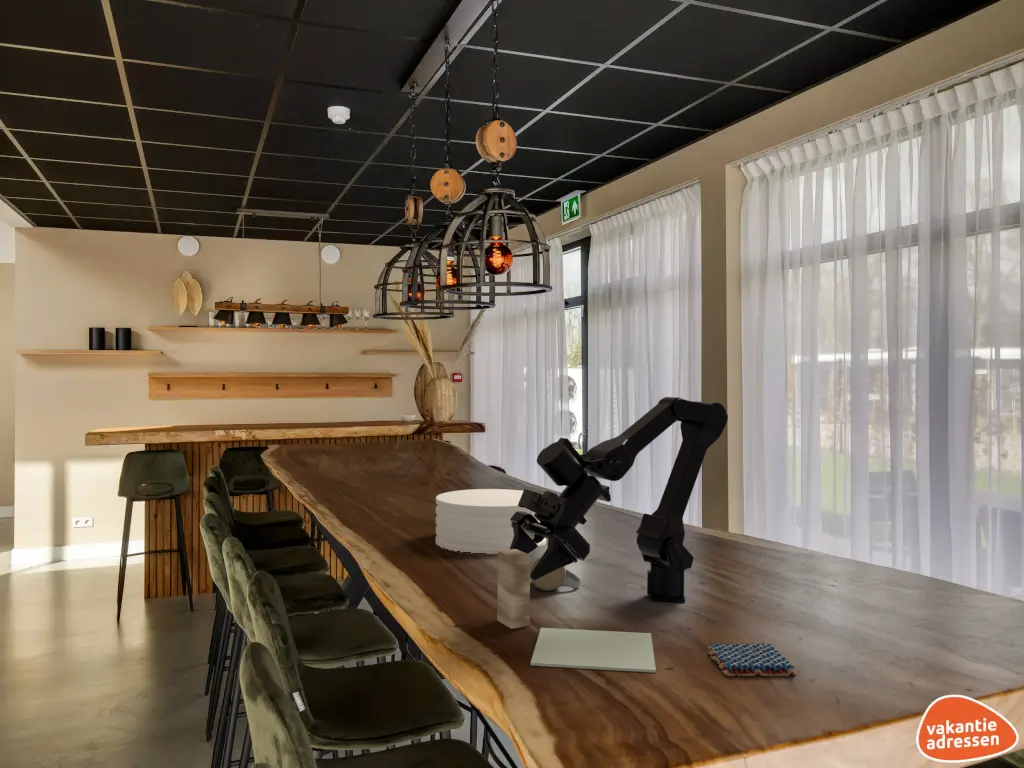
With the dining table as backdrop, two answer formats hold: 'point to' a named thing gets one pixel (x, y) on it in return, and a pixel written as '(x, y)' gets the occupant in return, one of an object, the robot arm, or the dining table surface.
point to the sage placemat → (594, 650)
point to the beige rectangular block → (513, 588)
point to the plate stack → (477, 520)
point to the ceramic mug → (552, 574)
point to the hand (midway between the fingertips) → (518, 572)
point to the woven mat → (750, 660)
